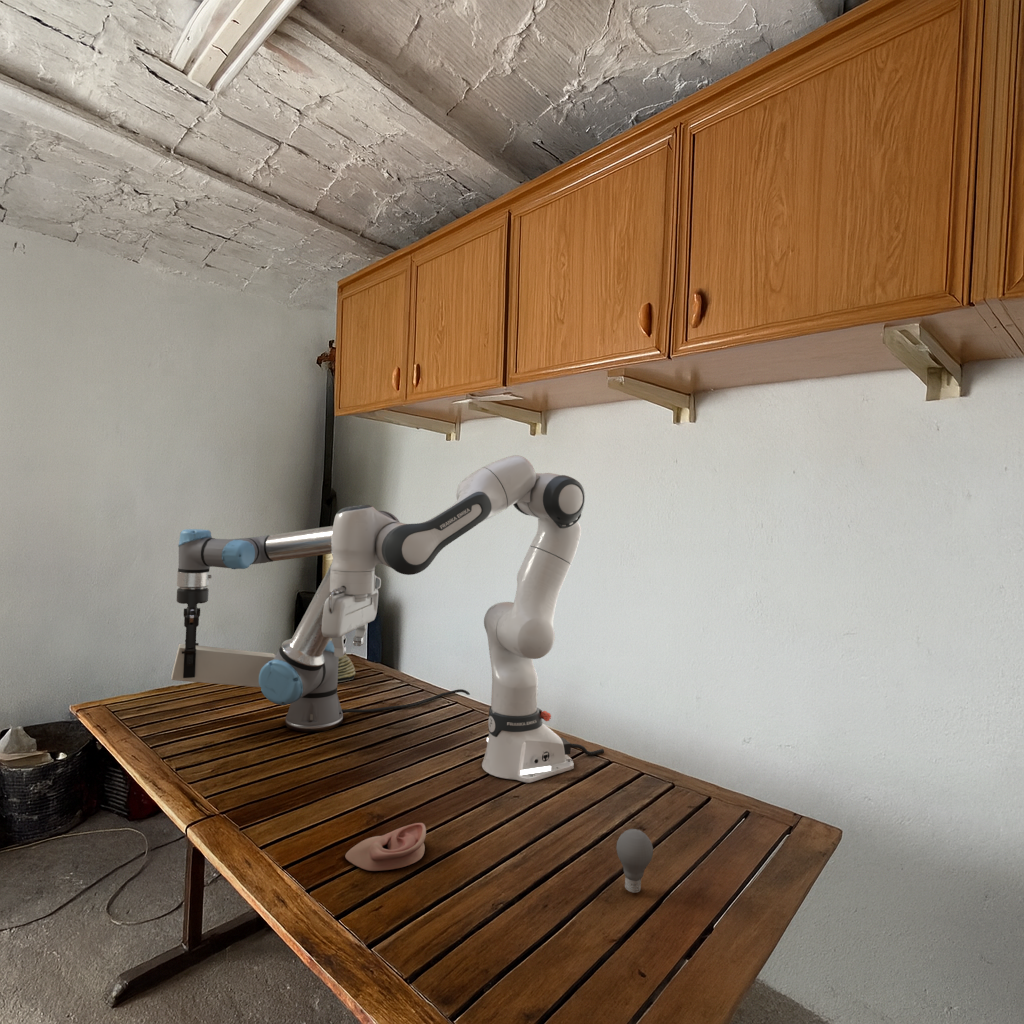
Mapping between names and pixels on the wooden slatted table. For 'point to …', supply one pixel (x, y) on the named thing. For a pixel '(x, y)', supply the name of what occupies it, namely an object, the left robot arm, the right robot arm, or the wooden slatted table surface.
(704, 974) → the wooden slatted table surface
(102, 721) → the wooden slatted table surface
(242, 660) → the bar
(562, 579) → the right robot arm
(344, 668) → the fossil
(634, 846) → the light bulb
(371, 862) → the anatomical model
